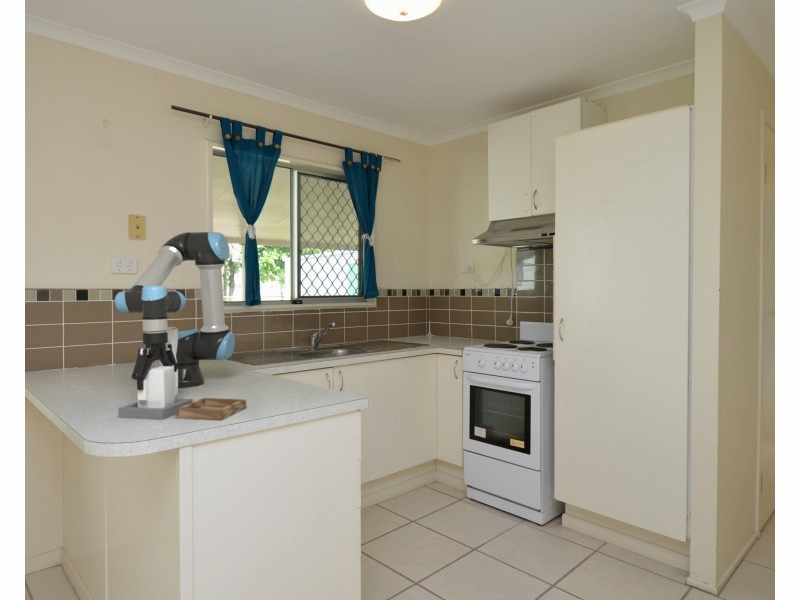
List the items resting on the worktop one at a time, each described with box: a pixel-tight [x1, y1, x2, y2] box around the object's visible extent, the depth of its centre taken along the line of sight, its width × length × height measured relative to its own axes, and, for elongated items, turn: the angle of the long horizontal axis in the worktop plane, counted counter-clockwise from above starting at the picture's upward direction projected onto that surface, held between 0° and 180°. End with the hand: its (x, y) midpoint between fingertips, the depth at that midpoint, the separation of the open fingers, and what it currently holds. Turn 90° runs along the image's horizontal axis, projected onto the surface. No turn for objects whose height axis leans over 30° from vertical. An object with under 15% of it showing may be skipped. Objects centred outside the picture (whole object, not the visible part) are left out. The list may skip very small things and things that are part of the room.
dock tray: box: [174, 397, 247, 421], centre depth 168 cm, size 16×16×3 cm
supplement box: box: [136, 365, 176, 408], centre depth 170 cm, size 9×9×15 cm
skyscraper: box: [158, 326, 179, 397], centre depth 195 cm, size 8×8×28 cm
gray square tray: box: [117, 397, 194, 420], centre depth 170 cm, size 16×16×3 cm
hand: (156, 395), depth 170 cm, fingers open, 13 cm apart
